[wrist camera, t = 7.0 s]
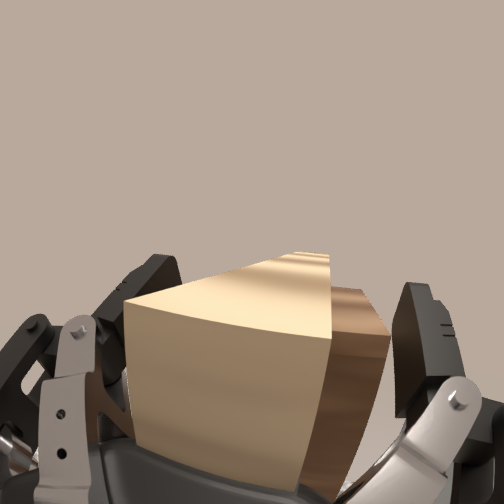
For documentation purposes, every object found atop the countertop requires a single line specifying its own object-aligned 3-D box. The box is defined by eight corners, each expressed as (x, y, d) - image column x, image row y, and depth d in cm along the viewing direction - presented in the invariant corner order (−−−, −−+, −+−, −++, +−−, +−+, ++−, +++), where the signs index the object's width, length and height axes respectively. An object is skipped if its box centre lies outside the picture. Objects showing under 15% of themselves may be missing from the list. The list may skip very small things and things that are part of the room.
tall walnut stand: (238, 490, 30) (259, 278, 28) (306, 502, 27) (361, 289, 26) (202, 557, 17) (196, 310, 15) (288, 575, 14) (391, 335, 12)
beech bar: (294, 282, 27) (297, 251, 27) (325, 285, 27) (329, 254, 26) (137, 446, 4) (123, 300, 4) (293, 493, 3) (331, 338, 3)
